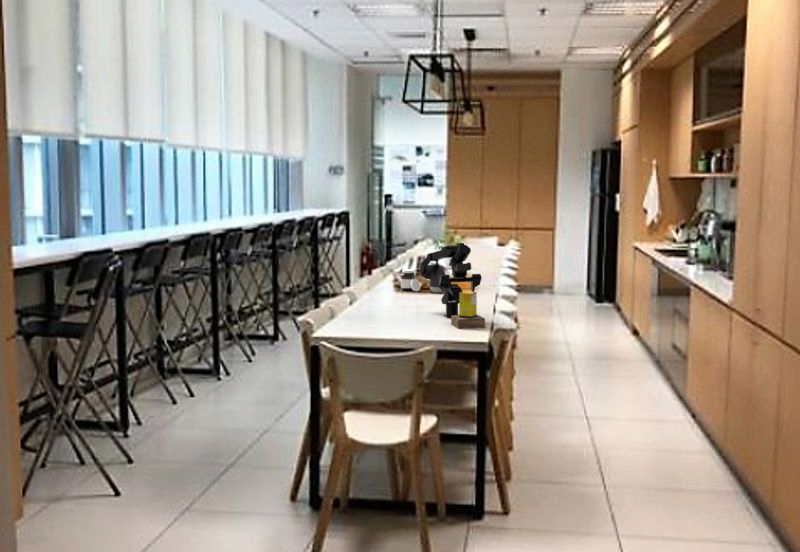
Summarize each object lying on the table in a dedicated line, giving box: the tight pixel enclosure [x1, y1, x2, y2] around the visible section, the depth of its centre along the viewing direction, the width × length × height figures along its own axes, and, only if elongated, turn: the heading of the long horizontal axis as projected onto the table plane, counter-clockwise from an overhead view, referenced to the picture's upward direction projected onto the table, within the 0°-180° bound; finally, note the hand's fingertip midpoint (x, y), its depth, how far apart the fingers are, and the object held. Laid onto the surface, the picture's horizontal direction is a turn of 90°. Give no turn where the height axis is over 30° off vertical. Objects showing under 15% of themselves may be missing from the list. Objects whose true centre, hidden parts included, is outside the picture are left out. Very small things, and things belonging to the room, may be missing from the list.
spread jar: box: [400, 268, 421, 292], centre depth 523 cm, size 12×11×12 cm
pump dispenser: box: [428, 264, 447, 294], centre depth 514 cm, size 10×10×15 cm
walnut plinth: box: [450, 314, 486, 330], centre depth 406 cm, size 12×12×4 cm
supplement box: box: [458, 290, 478, 318], centre depth 405 cm, size 6×6×11 cm
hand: (463, 294), depth 413 cm, fingers open, 9 cm apart
